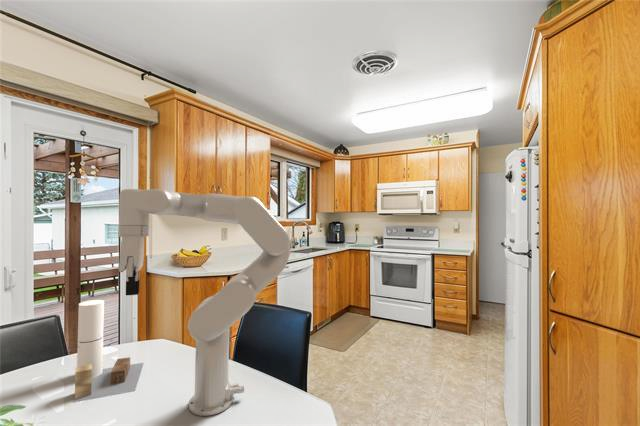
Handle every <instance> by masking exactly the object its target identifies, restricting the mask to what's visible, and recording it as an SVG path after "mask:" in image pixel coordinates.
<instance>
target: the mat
mask: <svg viewBox="0 0 640 426" xmlns="http://www.w3.org/2000/svg"><path fill="white" fill-rule="evenodd" d="M143 366H144V362H140V363H139V362H138V363H133V364H130V370H129V372H128V375H127V377H126V380H125V382H123V383H117V384H111V385H110V378H111V371H112V369H113V367H114V366H113V367H107V368H103V371H102V374H100V375H99V376H97V377H95V378H92V386H91V395H89V396H85V397H82V398H78V399H75V398H74V399H73V401H72V403H77V402H83V401H88V400H93V399H100V398H105V397H110V396H111V397H112V396H116V395H120V394H121V395H122V394H126V393H132V392H135V391H136V388H137V386H138V382H139V379H140V376H141V373H142V369H143Z"/></svg>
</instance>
